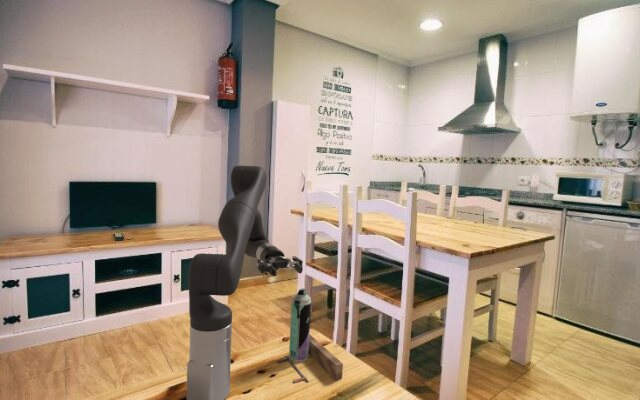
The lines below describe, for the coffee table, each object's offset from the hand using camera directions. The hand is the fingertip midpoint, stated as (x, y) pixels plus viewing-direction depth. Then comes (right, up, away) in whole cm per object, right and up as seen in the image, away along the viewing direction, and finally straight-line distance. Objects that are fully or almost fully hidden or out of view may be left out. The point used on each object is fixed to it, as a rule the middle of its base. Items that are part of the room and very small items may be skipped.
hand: (288, 271), depth 107 cm
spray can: (+4, -23, -7) cm, 24 cm away
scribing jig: (+6, -23, -12) cm, 27 cm away
